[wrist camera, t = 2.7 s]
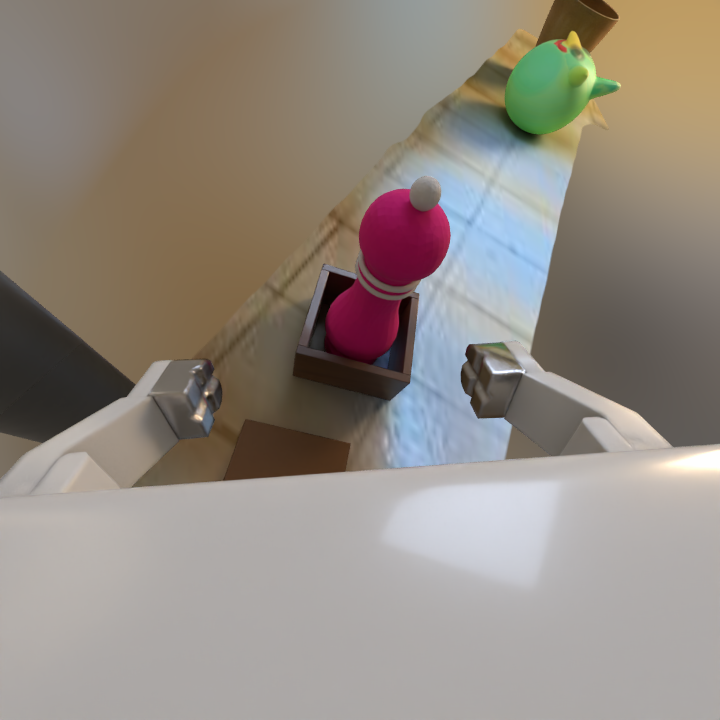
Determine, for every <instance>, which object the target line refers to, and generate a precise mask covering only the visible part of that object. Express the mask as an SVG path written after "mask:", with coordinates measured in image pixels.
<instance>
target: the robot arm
mask: <svg viewBox="0 0 720 720" xmlns="http://www.w3.org/2000/svg"><path fill="white" fill-rule="evenodd" d="M465 355H466V357H467V359H468V361H467V362H466V363H464V364H463V365H462V370H461V383H462V387H463V389H464V391H465V393H466V394H468V395H469V396H471V397H472V398H471V402H470V404H471V406H472V408H473V410H474V412H475V414H476V416H477V418H478V419H479V418H503V417H505V418H504V419H505V420H507V421H508V422H509V423H510V424H512V425H513V426H514V427H515V428H517V429H518V430H519V431H520V432H522V433H523V434H524V435H525V436H527V437H528V438H529V439H531V440H532V441H533V442H534V443H536V444H537V445H538V446H539V447H541V448H542V449H543V450H544V451H546V452H547V453H548V454H549V455H551V457H538V458H524V459H512V460H497V461H484V462H470V463H457V464H443V465H430V466H417V467H403V468H390V469H376V470H363V471H349V472H336V473H323V474H309V475H296V476H282V477H269V478H255V479H242V480H229V481H215V482H202V483H188V484H175V485H162V486H148V487H135V488H130V487H131V486H132V485H134V484H135V483H136V482H137V481H138V480H139V479H140V478H141V477H142V476H143V475H144V474H145V473H146V472H147V471H148V470H149V469H150V468H151V467H152V466H153V465H154V464H156V463H157V462H158V461H159V460H160V459H161V458H162V457H163V456H164V455H165V454H166V453H167V452H168V451H169V450H170V449H171V448H172V447H173V446H174V445H175V444H176V443H178V442H179V439H190V438H201V437H208V435H209V433H210V430H211V428H212V425H213V423H214V420H215V419H214V417H213V415H212V414H213V413H214V412H216V411H217V410H218V409H219V408H220V405H221V402H222V388H221V384H220V381H219V380H218V379H217V378H215V377H214V376H213V375H212V373H213V371H214V367H213V365H212V363H211V361H210V360H208V359H185V360H163V361H156V362H153V363H152V365H151V366H150V367H149V369H148V370H147V371H146V373H145V374H144V375H143V377H142V378H141V379H140V381H139V382H138V383H137V384H136V386H135V387H134V388H133V390H132V391H131V392H130V394H129V395H128V396H127V398H120V399H118V400H117V401H115V402H113V403H112V404H110V405H108V406H106V407H105V408H103V409H101V410H100V411H98V412H96V413H94V414H93V415H91V416H89V417H87V418H86V419H84V420H82V421H81V422H79V423H77V424H75V425H74V426H72V427H70V428H69V429H67V430H65V431H63V432H62V433H60V434H58V435H56V436H55V437H53V438H51V439H50V440H48V441H46V442H44V443H43V444H41V445H39V446H37V447H36V448H34V449H32V450H31V451H29V452H27V453H25V454H24V455H23V456H22V457H21V458H20V459H19V460H18V461H17V462H16V463H15V464H14V465H13V466H12V467H11V469H10V470H9V471H8V472H7V473H6V474H5V475H4V476H3V477H2V478H1V479H0V720H720V444H713V445H700V446H687V447H686V446H685V447H672V446H671V445H670V444H669V443H668V442H667V441H666V440H665V439H664V438H663V437H662V436H661V435H660V434H658V432H656V431H655V430H654V429H653V428H652V427H651V426H650V425H649V424H648V423H647V422H646V421H645V420H644V419H643V418H642V417H641V416H640V415H639V414H638V413H636V412H634V411H632V410H630V409H627V408H625V407H623V406H621V405H619V404H617V403H615V402H613V401H611V400H609V399H606V398H604V397H602V396H600V395H598V394H596V393H594V392H592V391H590V390H587V389H585V388H583V387H581V386H579V385H577V384H575V383H573V382H570V381H568V380H566V379H564V378H562V377H560V376H558V375H556V374H554V373H551V372H545V371H544V370H543V369H542V368H541V367H540V366H539V364H538V363H537V362H536V361H535V360H534V358H533V357H532V356H531V355H530V354H529V353H528V351H527V350H526V349H525V348H524V347H523V346H522V344H521V343H520V342H518V341H505V342H498V343H482V344H469V346H468V347H467V349H466V353H465Z"/></svg>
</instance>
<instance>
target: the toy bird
mask: <svg viewBox="0 0 720 720" xmlns="http://www.w3.org/2000/svg"><path fill="white" fill-rule="evenodd" d="M620 87H621V84H620V83H618V82H616V81H612V80H608V79H604V78H600V77H597V76H596V70H595V65H594V62H593V60H592V58H591V55H590V53H589V52H588V50H587V49H585V48H583V47H582V46H581V44H580V41H579V38H578V36H577V34H576V32H574V31H571V32H570V33H569V35H568V38H567V40H565V39H556V40H551V41H547V42H545V43H542V44H540V45H538V46H537V47H535V48H533V49H532V50H531V51H529V52H528V53H527V54H526V55H525V56H524V57H523V58H522V59H521V60H520V61H519V62H518V64H517V65H516V66H515V68H514V70H513V71H512V73H511V75H510V77H509V80H508V82H507V86H506V90H505V106H506V110H507V113H508V115H509V117H510V119H511V120H512V121H513V123H514V124H515V125H516V126H518V127H519V128H520V129H522V130H524V131H526V132H529V133H532V134H547V133H551V132H554V131H556V130H559V129H561V128H562V127H564V126H566V125H567V124H569V123H570V122H571V121H573V120H574V119H575V118H576V117H577V116H578V115H579V114H580V113H581V112H582V110H583V109H584V108H585V106H586V105H587V103H588V102H589V100H590V99H593V98H596V97H600V96H603V95H607V94H610V93H613V92H615V91H617V90H619V89H620Z"/></svg>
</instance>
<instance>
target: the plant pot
mask: <svg viewBox="0 0 720 720" xmlns="http://www.w3.org/2000/svg"><path fill="white" fill-rule="evenodd" d="M619 19H620V17H619V15H618V14H617V12H616V11H615V10H614V9H613V8H612V7H611V6H610V5H608V4H607V3H606V2H604V1H603V0H555V1H554V3H553V5H552V7H551V10H550V12H549V14H548V17H547V19H546V21H545V24H544V26H543V29H542V31H541V34H540V36H539V39H538V41H537V44H536V47H537V46H538V45H540V44H542V43H545V42H547V41H551V40H556V39H565V40H567V38H568V35H569V33H570V32H571V31H574V32H576V34H577V36H578V38H579V41H580V44H581V46H582V47H583V48H585V49H587V50H588V52H589V53H590V52H591V51H592V50H593V49H594V48H595V47H596V46H597V45H598V44H599V42H600V41H601V40H602V39H603V38H604V37H605V35H606V34H607V33H608V32H609V31H610V30H611V29H612V27H613V26H614V25H615V24H616V22H617V21H618V20H619Z"/></svg>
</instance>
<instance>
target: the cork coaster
mask: <svg viewBox="0 0 720 720" xmlns="http://www.w3.org/2000/svg"><path fill="white" fill-rule="evenodd" d="M349 449H350V443H346V442H342V441H337V440H333V439H329V438H325V437H320V436H316V435H312V434H307V433H303V432H299V431H295V430H290V429H286V428H282V427H277V426H273V425H269V424H264V423H260V422H256V421H252V420H247V419H246V420H245V422H244V425H243V428H242V430H241V433H240V436H239V439H238V442H237V444H236V447H235V450H234V453H233V455H232V458H231V461H230V464H229V467H228V469H227V472H226V475H225V478H224V480H223V481H229V480H242V479H255V478H269V477H282V476H296V475H309V474H323V473H336V472H345V470H346V465H347V460H348V454H349Z"/></svg>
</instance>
